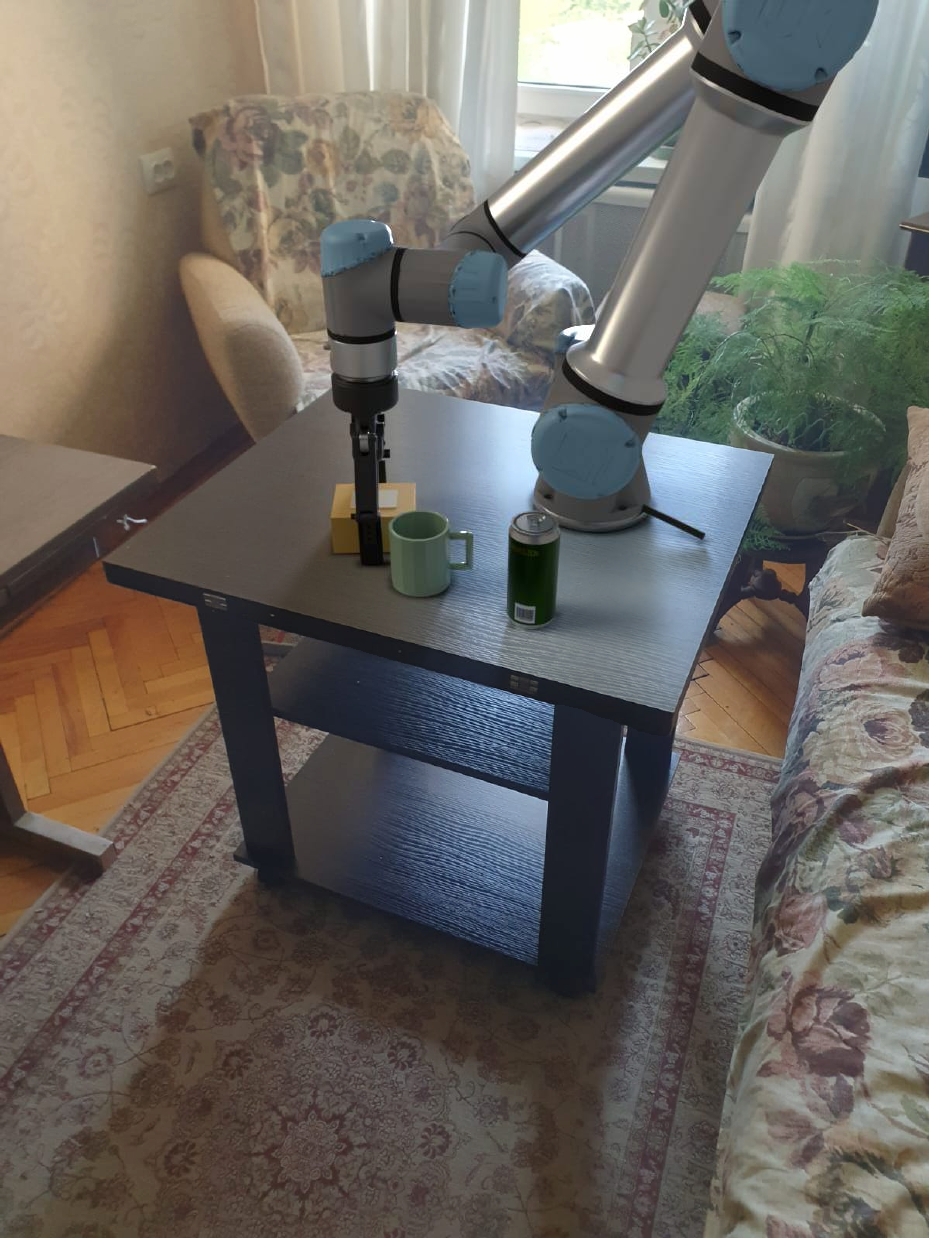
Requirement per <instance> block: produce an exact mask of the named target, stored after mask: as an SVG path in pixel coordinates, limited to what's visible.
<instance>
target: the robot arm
mask: <svg viewBox="0 0 929 1238" xmlns="http://www.w3.org/2000/svg"><path fill="white" fill-rule="evenodd" d="M879 3H880V0H693V2H691V3H690V4H689V5H688V6H687V7H686V8H685V10H684V15H683V20H682V24H681V26H680V27H679V28H678V29H677V30H676V31H674V33H672V35H670V36H669V37H668V38H667V39H666V40H665V41H663V42H662V43H661V44H660V45H659V46H658V47H657V48H656V49H654V50H653V51H652V52H651V53H650V54H649V55H648V56H646V58H644V59H643V60H642V61H641V62H640V63H639V64H638V65H636V66H635V67H634V68H633V69H632V70H631V71H629V72H628V73H627V74H626V75H624V76H623V78H621V79H620V80H619V81H618V82H617V83H615V85H614V86H612V87H611V88H610V89H609V90H608V91H607V92H606V93H605V94H603V95H602V96H601V97H599V99H597V101H595V102H594V103H593V104H592V105H591V106H590V107H588V108H587V110H585V111H584V112H583V113H582V114H581V115H580V116H578V117H577V118H576V119H575V120H574V121H573V122H572V123H571V124H569V126H567V127H566V128H564V130H562V131H561V132H560V133H559V134H558V135H557V136H556V137H554V139H552V140H551V141H550V142H549V143H548V144H547V145H546V146H544V147H543V149H541V150H540V151H539V152H538V153H537V154H536V155H535V156H533V157H532V158H531V159H529V160H528V162H527V163H525V164H524V165H523V166H522V167H521V168H520V169H519V170H517V171H516V172H515V173H513V175H512V176H510V177H509V179H507V180H506V181H505V182H504V183H503V184H502V185H500V186H499V187H498V188H497V189H495V191H494V192H492V193H491V194H490V195H489V196H488V197H487V199H485V200H484V201H482V203H479V205H478V206H476V207H475V208H474V209H473V210H472V211H471V212H470V213H468V214H466V215H464V216H462V217H461V218H460V219H459V220H458V221H457V222H456V223H455V224H454V225H453V226H452V227H451V228H450V230H449V232H448V234H446V236H445V237H444V238H443V239H442V240H441V242H440V243H438V245H437V246H436V247H435V248H427V247H426V248H425V247H423V248H422V247H421V248H420V247H407V246H401V245H395V242H394V239H393V237H392V230H391V229H390V227H389V226H388V225H387V224H385V223H383V222H381V221H374V220H371V219H348V220H341V221H337V222H334V223H331V224H329V225H328V226H327V227H326V228H325V229H324V230H323V231H322V233H321V234H320V240H319V243H320V244H319V245H320V272H319V274H320V277H321V283H322V284H321V285H322V293H323V301H324V310H325V321H326V333H327V340H326V341H323V344H322V349H323V350H325V351H330V352H329V364H330V365H329V367H330V369H331V371H332V373H331V375H330V383H331V393H332V394H331V395H332V402H333V405H334V406H335V407H336V409H338V410H340V411H341V412H343V413H348V414H350V423H349V437H350V438H351V450H352V451H351V457H352V459H353V471H354V472H353V473H354V484H355V504H356V513H351V520H355V519H356V522H357V523H358V535H359V547H360V553H359V559H360V565H384V564H385V563H384V562H385V560H384V559H385V557H384V552H383V541H382V525H381V513H380V512H379V483H388V481H387V465H386V463H387V461H386V460H384V459H391V449H390V448H385V445H386V443H387V442H386V440H385V433H386V432H385V428H386V414H385V413H386V412H388V411H390V410H392V409H393V408H394V407H395V406H396V405H398V402H399V399H400V394H399V374H398V373H399V372H398V371H397V370H396V369H397V368H398V364H399V363H398V337H397V336H398V335H397V328H396V327H397V325H396V323H404V324H407V323H408V324H419V325H431V326H441V327H442V326H443V327H454V328H460V329H465V330H471V329H491V328H495V327H497V326H499V324H500V323H501V322H502V321H503V319H504V315H505V310H506V307H507V301H508V291H509V272H510V271H511V270H512V269H514V267H515V266H516V265H518V264H519V263H520V262H521V261H523V260H524V259H525V258H526V257H527V256H528V255H529V254H531V252H533V251H534V250H535V249H537V248H538V247H539V246H540V245H541V244H543V243H544V242H545V241H546V240H548V239H549V238H550V237H551V236H553V235H554V234H555V233H557V232H558V230H560V229H562V228H563V227H564V226H565V225H566V224H568V223H569V222H570V221H571V220H572V219H573V218H575V217H576V216H577V215H578V214H580V213H581V212H582V211H583V210H584V209H586V208H587V207H588V206H589V205H591V204H592V203H593V202H595V201H596V200H597V199H598V198H599V197H601V196H602V195H603V194H605V192H607V191H608V190H609V189H611V188H612V187H613V186H615V184H617V183H618V182H619V181H621V180H622V179H623V178H624V177H625V176H627V175H628V174H629V173H630V172H632V171H633V170H634V169H635V168H636V167H638V166H639V165H641V164H642V163H643V162H644V161H645V160H646V159H648V158H649V157H650V156H651V155H653V154H654V153H655V152H657V151H658V150H659V149H660V148H661V147H662V146H664V145H665V144H666V143H668V142H669V141H670V140H671V139H673V137H675V136H676V135H678V137H677V139H676V142H675V144H674V146H673V148H672V151H671V153H670V156H669V158H668V160H667V162H666V164H665V166H664V169H663V171H662V173H661V176H660V177H659V180H658V182H657V184H656V186H655V189H654V191H653V193H652V195H651V198H650V200H649V202H648V204H647V207H646V209H645V212H644V214H643V216H642V218H641V220H640V223H639V224H638V227H637V229H636V232H635V234H634V236H633V239H632V240H631V243H630V245H629V248H628V249H627V251H626V254H625V256H624V258H623V260H622V263H621V265H620V268H619V270H618V272H617V274H616V277H615V279H614V281H613V283H612V285H611V288H610V290H609V292H608V295H607V297H606V299H605V301H604V303H603V306H602V308H601V310H600V312H599V315H598V316H597V319H596V321H595V324H590V325H588V324H587V325H578V326H571V327H568V328H565V329H563V330H562V331H560V332H559V333H558V335H557V336H556V341H555V347H554V349H553V355H554V366H553V367H554V368H553V376H552V379H551V383H550V386H549V389H548V391H547V394H546V397H545V400H544V402H543V405H542V408H541V410H540V413H539V416H538V419H537V420H536V421H535V423H534V424H533V427H532V429H531V435H530V436H531V437H530V438H531V439H530V454H531V460H532V462H533V465H534V466H535V469H536V471H537V473H538V476H537V478H536V481H535V484H534V487H533V488H534V489H533V505H534V508H535V509H536V510H535V511H542V512H546V513H549V514H551V515H553V516H554V517H556V518H557V520H558V523H559V527H563V528H566V529H570V530H574V531H575V530H576V531H580V532H581V531H582V532H589V533H591V532H592V533H605V532H614V531H619V530H624V529H626V528H630V527H632V526H634V525H636V524H638V523H641V521H643V520H644V519H645V518H646V517H647V515H649V516H651V517H654V518H655V519H657V520H660V521H662V522H664V523H666V524H668V525H670V526H673V527H675V528H676V529H679V530H681V531H682V532H685V533H686V534H688V535H691V536H692V537H695V538H696V539H699V540H701V541H703V540H704V538H705V537H706V533H705V532H703V530H699V529H698V528H696V527H694V526H691V525H689V524H687V523H685V522H683V521H681V520H680V519H678V518H674V517H672V516H670V515H668V514H666V513H664V512H662V511H660V510H658V509H655V508H653V507H651V502H652V500H651V499H652V491H651V486H650V481H649V477H648V473H647V469H646V464H645V461H644V455H643V446H644V444H645V441H646V439H647V437H648V436H649V433H650V431H651V430H652V428H653V425H654V424H655V421H656V420H657V418H658V416H659V414H660V412H661V410H662V409H663V407H664V404H665V403H666V401H667V398H668V397H669V393H670V392H669V388H668V385H667V382H666V379H665V376H664V374H665V372H666V369H667V367H668V365H669V363H670V362H671V359H672V358H673V356H674V354H675V352H676V349H677V348H678V346H679V344H680V342H681V341H682V338H683V336H684V334H685V332H686V330H687V328H688V326H689V324H690V323H691V321H692V318H693V316H694V314H695V312H696V310H698V309H697V308H698V307H699V304H700V303H701V300H702V299H703V297H704V295H705V293H706V291H707V289H708V287H709V285H710V283H711V282H712V279H713V277H714V275H715V273H716V272H717V270H718V269H719V266H720V264H721V262H722V260H723V258H724V256H725V254H726V252H727V251H728V249H729V246H730V244H731V243H732V240H733V239H734V237H735V235H736V233H737V230H738V229H739V226H740V225H741V223H742V221H743V220H744V218H745V215H746V213H747V211H748V210H749V207H750V205H751V203H752V201H753V200H754V197H755V196H756V193H757V192H758V190H759V188H760V186H761V184H762V182H763V180H764V178H765V176H766V174H767V172H768V170H769V169H770V166H771V165H772V162H773V160H774V159H775V157H776V155H777V153H778V151H779V150H780V147H781V145H782V143H783V141H784V139H785V138H787V137H788V136H790V135H791V134H793V133H796V132H798V131H800V130H804V129H805V128H808V127H809V126H811V124H812V123H813V120H814V118H815V117H816V115H817V114H818V111H819V109H820V107H821V106H822V103H823V102H824V100H825V98H826V97H827V94H828V93H829V91H830V88H831V87H832V85H833V83H834V81H835V79H836V77H837V75H838V73H839V72H841V70H842V69H843V68H845V67H846V66H847V64H849V62H850V61H851V60H852V59H853V58H854V57H855V54H857V52H858V51H859V50H860V49H861V48H862V47H863V45H864V43H865V41H866V40H867V37H868V36H869V33H870V31H871V29H872V28H873V27H872V26H873V24H874V22H875V19H876V15H877V11H878V8H879ZM678 133H679V134H678Z"/></svg>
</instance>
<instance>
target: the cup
mask: <svg viewBox="0 0 929 1238" xmlns="http://www.w3.org/2000/svg"><path fill="white" fill-rule="evenodd" d="M450 527H451V526H450V521H449V519H448V518H447V516H445V515H443V514H442V513H439V512H437V511H432V510H427V509H417V510H413V511H408V512H404V513H401V514H399V515H397V516H395V517H394V518H393V519H392V520H391V521H390V522H389V542H390V552H389V557H390V570H391V571H390V572H391V582H392V586H393V588H394V589H395V590H396V591H397V592H399V594H403V595H405V596H408V597H414V598H427V597H432V596H436V595H438V594H441V593H443V592H444V591H445V590H446V589H448V587H449V586H450V584H451V581H452V580H451V575H452V574H451V571H471V570H473V568H474V533H473V532H472V531H451V528H450ZM462 540H463V541H464V544H465V545H464V546H465V547H464V550H465V553H464V556H465V559H464V560H465V561H464V562H451V541H462Z"/></svg>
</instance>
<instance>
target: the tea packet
mask: <svg viewBox="0 0 929 1238" xmlns="http://www.w3.org/2000/svg"><path fill="white" fill-rule="evenodd" d="M416 484H417V483H416V482H387V483H379V512H380V513H381V525H382V541H383V553H390V542H389V522H390V521H391V520H392V519H393V518H394V517H395V516H397V515H399V514H401V513H404V512H408V511H413V510H418V509H417V487H416V486H417V485H416ZM351 513H356V504H355V483H336V484H335V490H334V494H333V501H332V506H331V512H330V527H331V537H332V548H333V554H360V547H359V535H358V523H357V522H356V519H355V520H351Z"/></svg>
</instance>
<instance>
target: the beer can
mask: <svg viewBox="0 0 929 1238" xmlns="http://www.w3.org/2000/svg"><path fill="white" fill-rule="evenodd" d="M560 544H561V528H560V525H559V523H558V520H557V518H556V517H554V516H553V515H551V514H549V513H546V512H542V511H537V510H527V511H522V512H519V513H517V514H515V515H514V516H512V518H511V520H510V526H509V528H508V540H507V577H506V579H507V581H506V615H507V617H508V618H509V620H510V622H511V623H512V624H513V625H514V626H516V627H517V628H520V629H524V630H539V629H543V628H545V627H547V626H549V625H550V624H551V622H552V621H553V619H554V617H555V615H556V612H557V611H556V610H557V593H558V580H559V579H558V578H559V561H560V547H561V546H560Z"/></svg>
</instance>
